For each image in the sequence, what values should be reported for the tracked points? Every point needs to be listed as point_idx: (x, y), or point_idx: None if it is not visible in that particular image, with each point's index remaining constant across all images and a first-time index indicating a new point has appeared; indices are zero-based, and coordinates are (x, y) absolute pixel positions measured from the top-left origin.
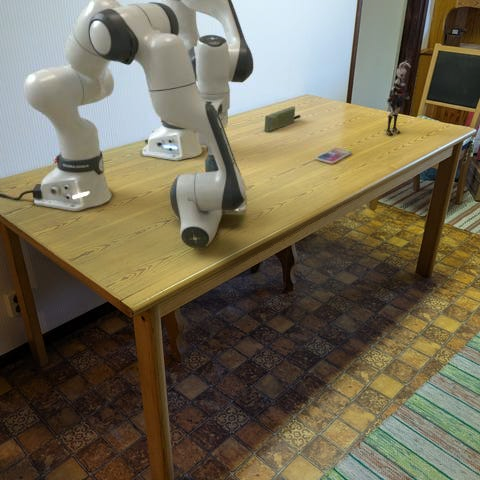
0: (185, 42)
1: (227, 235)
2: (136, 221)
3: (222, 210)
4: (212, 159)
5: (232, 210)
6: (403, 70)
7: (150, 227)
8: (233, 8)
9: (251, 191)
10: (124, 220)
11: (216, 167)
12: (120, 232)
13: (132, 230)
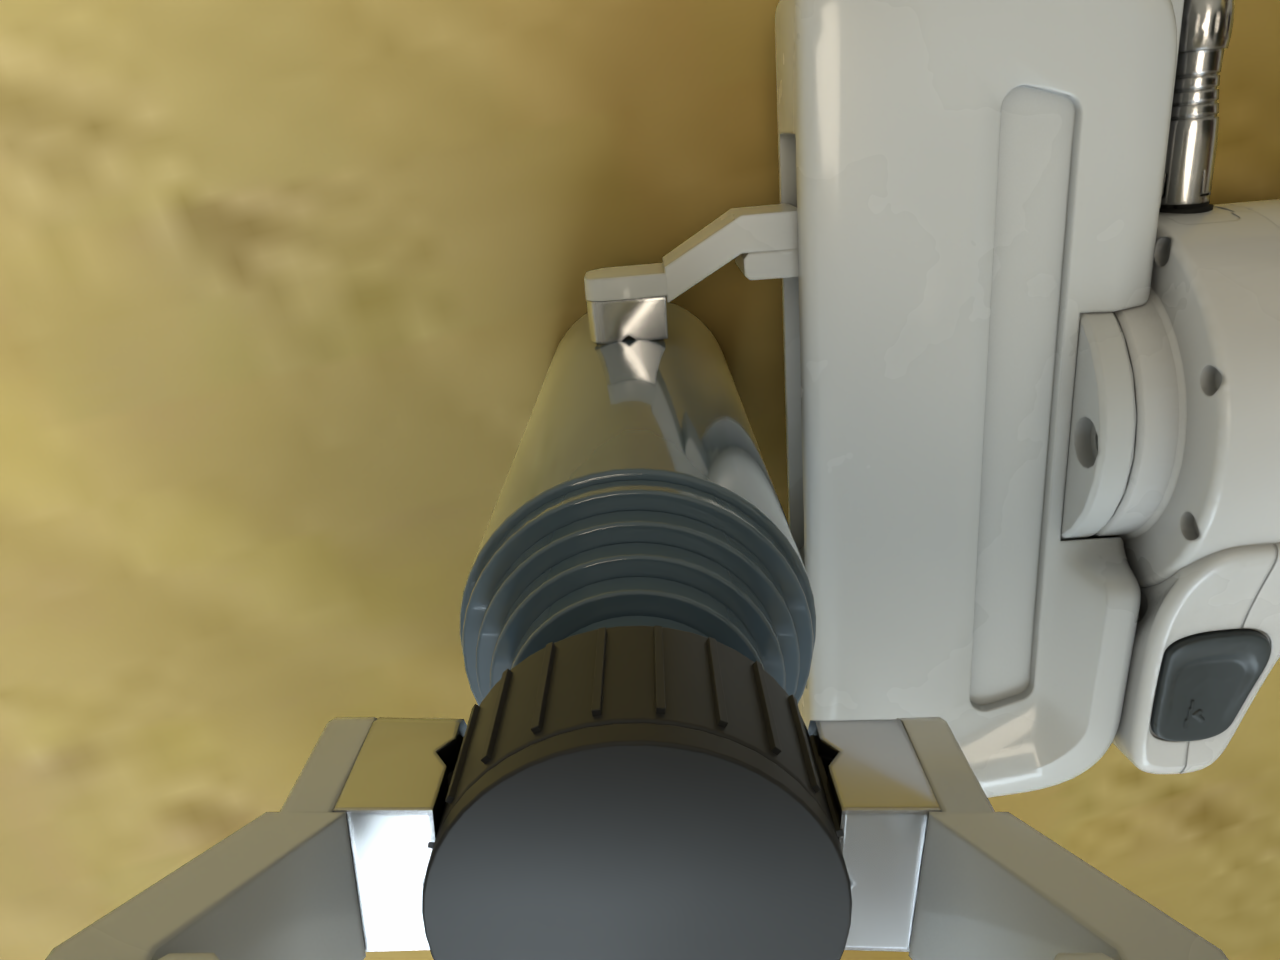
0: None
1: (1262, 103)
2: None
3: (1215, 208)
4: (784, 678)
5: (1218, 76)
6: None
7: (1120, 772)
8: None
9: (126, 64)
10: None
11: (787, 532)
12: (1205, 921)
13: (1173, 864)
